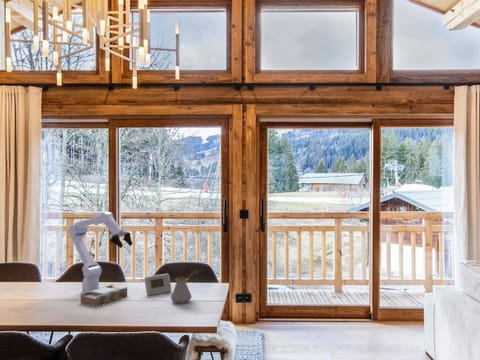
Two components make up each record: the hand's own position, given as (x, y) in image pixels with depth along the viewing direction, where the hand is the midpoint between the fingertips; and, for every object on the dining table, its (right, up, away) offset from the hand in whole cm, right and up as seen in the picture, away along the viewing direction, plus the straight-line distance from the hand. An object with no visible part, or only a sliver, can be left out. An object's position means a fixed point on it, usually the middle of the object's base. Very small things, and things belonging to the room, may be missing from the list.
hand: (126, 245), depth 224 cm
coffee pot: (+35, -31, -2) cm, 46 cm away
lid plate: (-12, -26, -3) cm, 29 cm away
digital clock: (+16, -31, +11) cm, 36 cm away
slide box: (-12, -30, -2) cm, 33 cm away
